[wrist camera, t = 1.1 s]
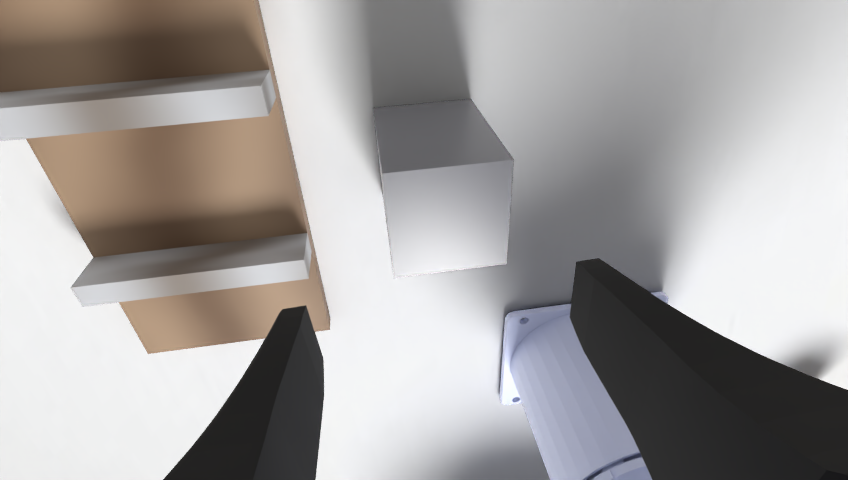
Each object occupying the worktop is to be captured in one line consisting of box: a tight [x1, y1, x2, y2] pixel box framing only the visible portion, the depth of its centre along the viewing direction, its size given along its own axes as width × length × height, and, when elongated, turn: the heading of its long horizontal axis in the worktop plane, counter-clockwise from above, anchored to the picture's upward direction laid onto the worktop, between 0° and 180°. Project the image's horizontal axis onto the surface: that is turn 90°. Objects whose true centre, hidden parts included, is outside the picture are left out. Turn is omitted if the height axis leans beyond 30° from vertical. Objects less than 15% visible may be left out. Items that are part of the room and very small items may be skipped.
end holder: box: [0, 0, 330, 354], centre depth 18 cm, size 9×18×3 cm, turn 3°
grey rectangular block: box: [373, 99, 514, 278], centre depth 17 cm, size 4×4×6 cm
